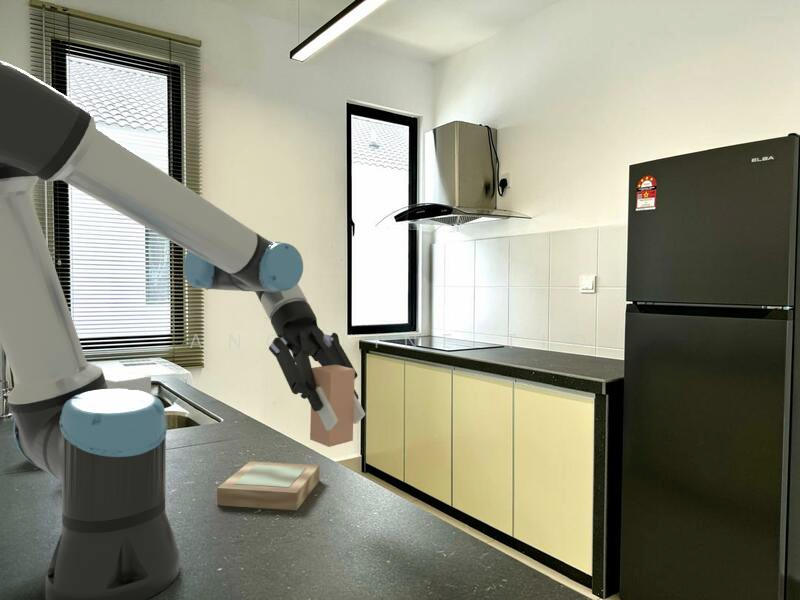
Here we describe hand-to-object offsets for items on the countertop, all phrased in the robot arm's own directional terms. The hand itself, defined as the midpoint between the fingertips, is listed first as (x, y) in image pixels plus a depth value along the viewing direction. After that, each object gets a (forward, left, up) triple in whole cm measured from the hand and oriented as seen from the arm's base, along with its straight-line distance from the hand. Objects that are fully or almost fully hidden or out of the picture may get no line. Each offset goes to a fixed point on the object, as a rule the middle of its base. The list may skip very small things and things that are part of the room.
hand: (346, 422), depth 88 cm
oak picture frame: (+9, +16, -16) cm, 24 cm away
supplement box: (+36, +63, -16) cm, 74 cm away
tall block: (+2, +3, -4) cm, 5 cm away
